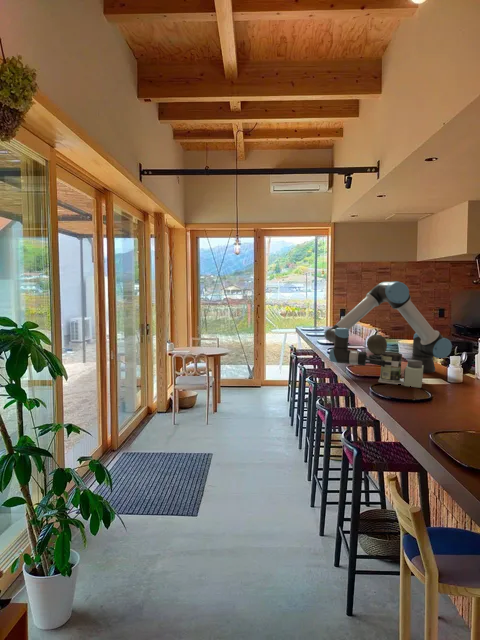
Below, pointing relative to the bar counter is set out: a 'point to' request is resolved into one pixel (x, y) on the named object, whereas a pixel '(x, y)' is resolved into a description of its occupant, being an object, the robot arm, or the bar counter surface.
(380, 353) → the cantaloupe
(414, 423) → the bar counter surface
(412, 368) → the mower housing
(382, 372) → the coffee can
